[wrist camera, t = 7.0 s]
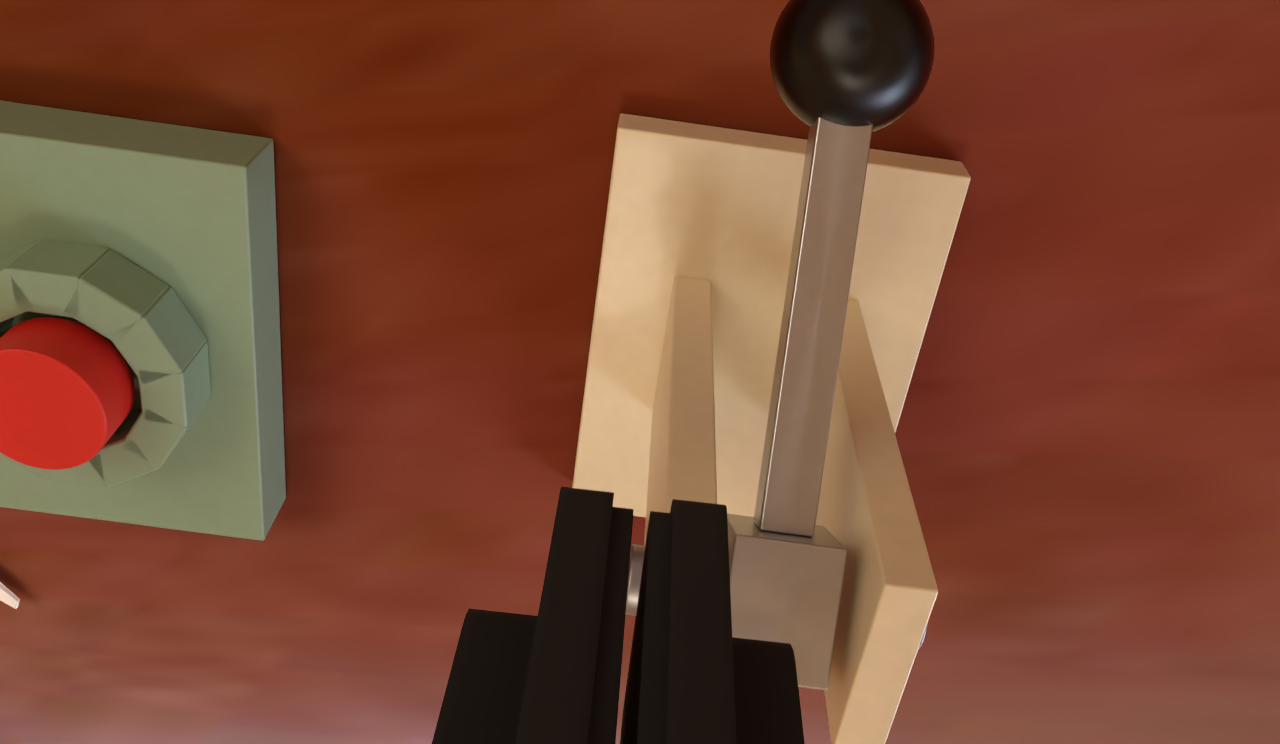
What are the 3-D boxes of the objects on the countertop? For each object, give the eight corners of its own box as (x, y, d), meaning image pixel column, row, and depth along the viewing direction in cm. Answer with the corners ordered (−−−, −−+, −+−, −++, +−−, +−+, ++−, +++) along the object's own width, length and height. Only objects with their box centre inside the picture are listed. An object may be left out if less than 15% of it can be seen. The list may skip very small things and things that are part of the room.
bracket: (619, 112, 29) (574, 357, 18) (962, 161, 29) (1121, 432, 18) (573, 484, 35) (517, 837, 24) (857, 522, 36) (929, 888, 25)
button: (-13, 306, 29) (-53, 340, 27) (129, 325, 29) (98, 360, 27) (8, 424, 31) (-27, 461, 29) (142, 441, 31) (113, 479, 29)
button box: (-69, 89, 30) (-169, 139, 26) (274, 137, 30) (219, 193, 26) (2, 460, 36) (-72, 541, 32) (286, 498, 36) (243, 581, 33)
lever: (771, -16, 24) (795, -67, 21) (919, 6, 24) (967, -42, 21) (681, 633, 25) (691, 680, 21) (825, 652, 25) (857, 702, 21)
